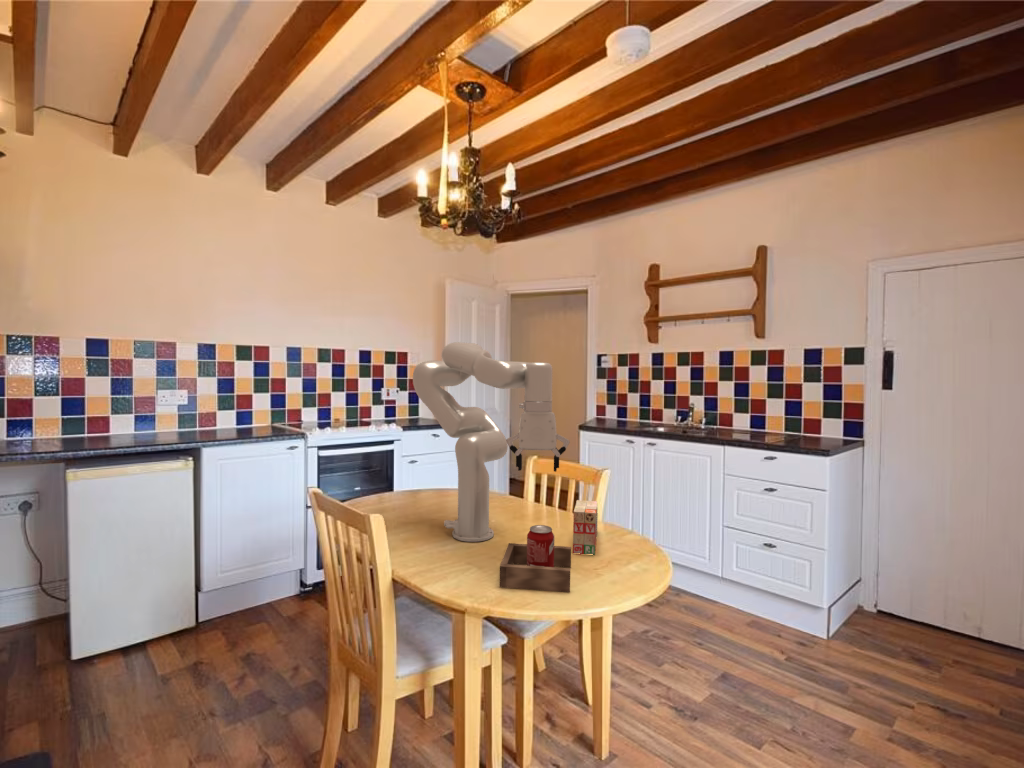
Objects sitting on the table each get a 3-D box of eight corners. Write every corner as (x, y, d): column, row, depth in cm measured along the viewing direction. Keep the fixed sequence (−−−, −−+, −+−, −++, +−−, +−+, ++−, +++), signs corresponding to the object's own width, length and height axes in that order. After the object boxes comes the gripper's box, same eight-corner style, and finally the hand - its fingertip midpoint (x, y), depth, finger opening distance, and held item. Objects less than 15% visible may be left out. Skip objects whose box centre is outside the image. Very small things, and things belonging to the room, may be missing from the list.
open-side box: (499, 587, 121) (499, 566, 121) (508, 561, 137) (508, 543, 137) (569, 592, 119) (570, 570, 119) (570, 565, 135) (571, 546, 135)
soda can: (545, 584, 123) (546, 534, 123) (521, 577, 127) (522, 529, 126) (558, 574, 129) (559, 527, 129) (534, 568, 133) (535, 522, 132)
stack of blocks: (577, 530, 165) (578, 492, 164) (597, 532, 163) (598, 493, 163) (572, 554, 144) (573, 510, 143) (595, 556, 142) (596, 512, 142)
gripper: (504, 408, 137) (504, 471, 138) (570, 409, 135) (569, 473, 136) (508, 406, 145) (507, 466, 145) (570, 407, 143) (569, 468, 143)
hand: (537, 470), depth 141 cm, fingers open, 9 cm apart
